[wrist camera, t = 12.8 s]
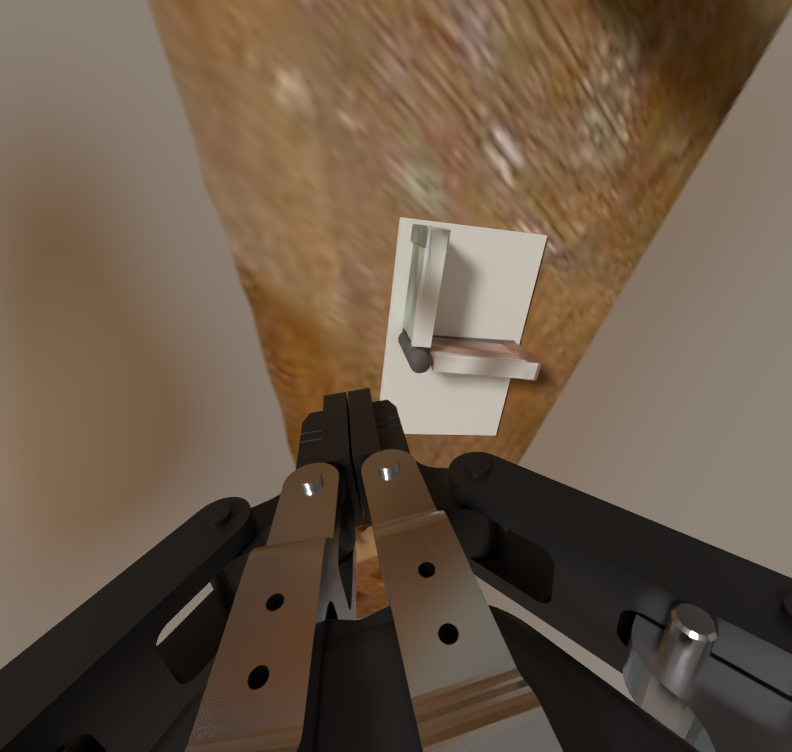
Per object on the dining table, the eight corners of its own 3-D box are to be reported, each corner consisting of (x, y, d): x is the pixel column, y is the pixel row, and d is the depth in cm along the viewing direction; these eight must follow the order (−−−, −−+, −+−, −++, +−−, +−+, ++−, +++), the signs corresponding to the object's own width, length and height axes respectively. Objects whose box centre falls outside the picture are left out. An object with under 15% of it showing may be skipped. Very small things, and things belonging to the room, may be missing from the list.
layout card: (400, 217, 33) (400, 217, 33) (545, 235, 36) (547, 235, 35) (376, 431, 42) (376, 433, 42) (494, 433, 45) (496, 435, 44)
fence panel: (419, 350, 38) (431, 372, 33) (422, 333, 37) (435, 352, 32) (511, 358, 40) (536, 380, 35) (515, 342, 39) (541, 362, 34)
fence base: (412, 222, 33) (429, 226, 28) (432, 224, 34) (452, 229, 28) (397, 347, 38) (408, 372, 32) (414, 348, 38) (429, 373, 32)
